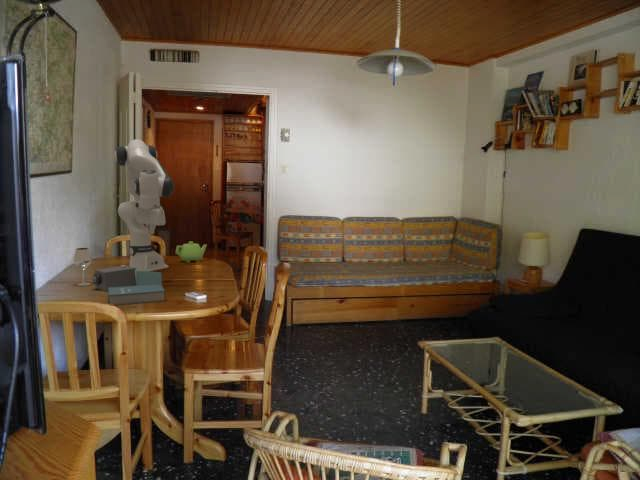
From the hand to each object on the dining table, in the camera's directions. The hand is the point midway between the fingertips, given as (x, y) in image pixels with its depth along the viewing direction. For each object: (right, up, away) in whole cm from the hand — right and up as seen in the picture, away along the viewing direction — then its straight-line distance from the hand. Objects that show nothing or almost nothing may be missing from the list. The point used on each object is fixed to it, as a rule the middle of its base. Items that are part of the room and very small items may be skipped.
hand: (151, 233), depth 250 cm
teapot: (-1, -17, +82) cm, 83 cm away
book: (-1, -30, -16) cm, 34 cm away
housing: (-20, -26, +6) cm, 34 cm away
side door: (-3, -26, +7) cm, 27 cm away
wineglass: (-37, -25, +12) cm, 47 cm away
